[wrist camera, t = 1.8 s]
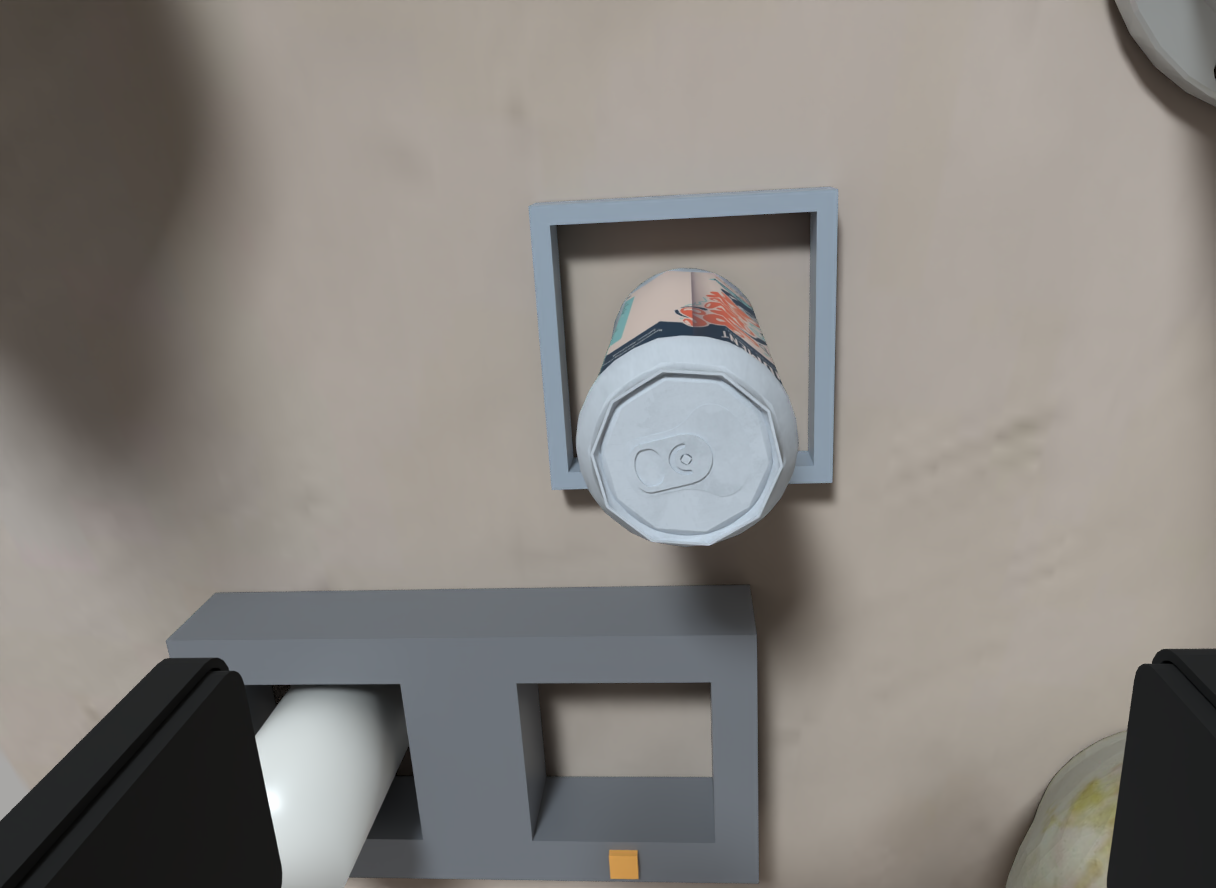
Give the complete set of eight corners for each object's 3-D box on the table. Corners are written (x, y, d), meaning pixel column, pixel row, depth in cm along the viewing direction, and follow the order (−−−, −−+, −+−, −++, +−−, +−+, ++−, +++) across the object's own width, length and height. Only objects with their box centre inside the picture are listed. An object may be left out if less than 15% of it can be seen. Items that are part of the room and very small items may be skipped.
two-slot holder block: (749, 584, 33) (768, 718, 25) (752, 814, 36) (769, 995, 28) (215, 592, 35) (84, 719, 27) (261, 810, 38) (155, 979, 30)
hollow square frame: (830, 186, 28) (838, 189, 27) (825, 466, 31) (832, 482, 30) (536, 202, 29) (528, 206, 28) (557, 474, 32) (551, 489, 31)
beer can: (773, 389, 31) (825, 538, 19) (635, 424, 31) (606, 586, 20) (739, 248, 29) (775, 318, 18) (596, 287, 30) (541, 379, 19)
